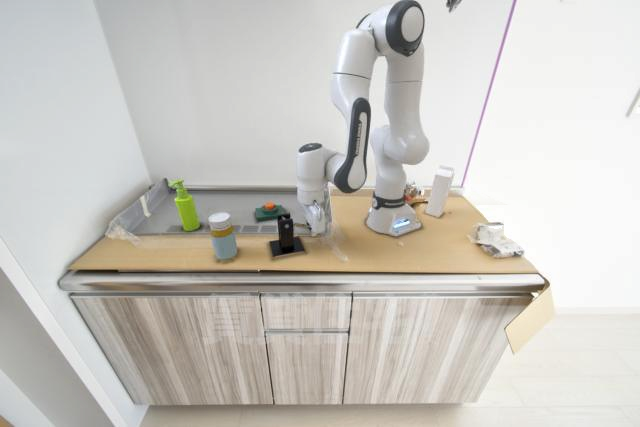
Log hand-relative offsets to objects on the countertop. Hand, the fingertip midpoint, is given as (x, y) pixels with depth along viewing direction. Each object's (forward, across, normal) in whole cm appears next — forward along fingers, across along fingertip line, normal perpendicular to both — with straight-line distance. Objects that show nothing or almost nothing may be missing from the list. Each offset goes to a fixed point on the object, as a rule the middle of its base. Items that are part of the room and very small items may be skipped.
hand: (311, 230), depth 85 cm
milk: (+6, +6, -61) cm, 61 cm away
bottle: (+6, +2, +29) cm, 30 cm away
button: (+2, +26, +11) cm, 28 cm away
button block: (+6, +26, +11) cm, 29 cm away
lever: (-2, 0, +5) cm, 6 cm away
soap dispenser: (+6, +25, +43) cm, 50 cm away
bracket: (+6, 0, +9) cm, 11 cm away
